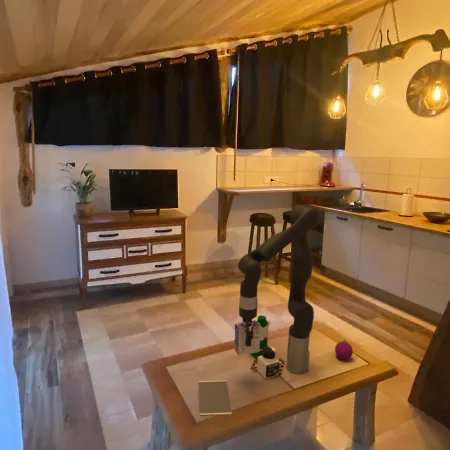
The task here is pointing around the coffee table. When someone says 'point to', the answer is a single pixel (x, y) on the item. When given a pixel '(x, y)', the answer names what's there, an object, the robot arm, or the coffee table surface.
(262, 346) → the milk carton
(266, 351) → the medicine bottle
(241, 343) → the ink cartridge box
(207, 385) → the mat
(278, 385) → the coffee table surface
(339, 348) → the christmas ornament
